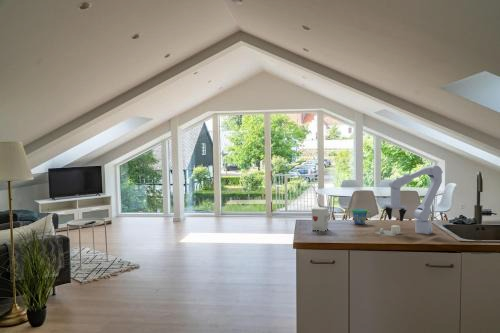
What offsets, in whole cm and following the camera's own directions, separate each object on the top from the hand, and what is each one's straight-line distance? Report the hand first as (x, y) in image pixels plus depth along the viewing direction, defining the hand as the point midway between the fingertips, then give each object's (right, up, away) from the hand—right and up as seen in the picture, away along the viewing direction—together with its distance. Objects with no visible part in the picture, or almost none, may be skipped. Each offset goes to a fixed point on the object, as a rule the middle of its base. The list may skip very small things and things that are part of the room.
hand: (395, 220), depth 265 cm
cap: (0, -8, 0) cm, 8 cm away
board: (-4, -9, +1) cm, 10 cm away
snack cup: (-11, -8, +43) cm, 46 cm away
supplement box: (-43, -10, +22) cm, 50 cm away
